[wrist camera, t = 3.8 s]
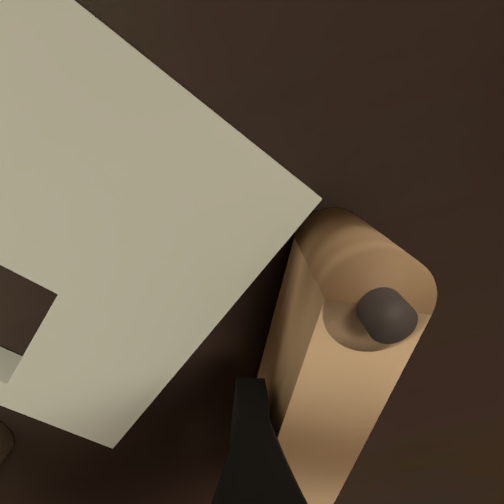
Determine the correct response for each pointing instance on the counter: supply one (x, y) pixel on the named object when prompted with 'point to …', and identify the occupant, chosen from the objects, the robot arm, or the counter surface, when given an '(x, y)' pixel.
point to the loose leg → (5, 442)
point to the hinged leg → (339, 343)
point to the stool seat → (120, 217)
